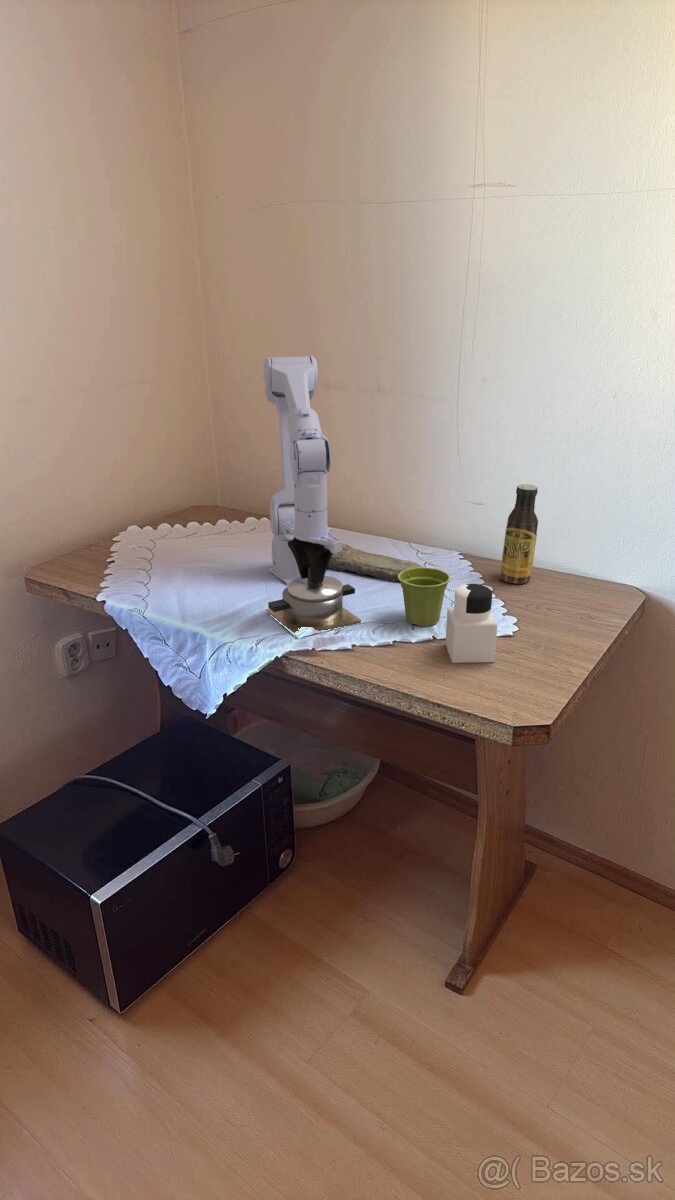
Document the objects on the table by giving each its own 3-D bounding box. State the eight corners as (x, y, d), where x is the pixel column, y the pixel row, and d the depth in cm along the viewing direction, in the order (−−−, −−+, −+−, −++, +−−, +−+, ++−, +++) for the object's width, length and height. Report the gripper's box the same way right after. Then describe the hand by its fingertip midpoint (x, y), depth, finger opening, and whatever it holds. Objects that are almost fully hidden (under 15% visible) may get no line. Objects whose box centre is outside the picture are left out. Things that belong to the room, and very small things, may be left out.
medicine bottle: (486, 643, 139) (491, 579, 134) (494, 663, 132) (500, 596, 128) (445, 644, 139) (448, 580, 134) (451, 663, 132) (455, 597, 127)
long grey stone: (415, 596, 162) (434, 582, 170) (417, 572, 160) (437, 559, 168) (270, 558, 177) (293, 547, 185) (270, 535, 175) (295, 525, 183)
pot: (256, 614, 150) (255, 589, 148) (334, 596, 158) (334, 572, 156) (288, 641, 140) (287, 615, 138) (369, 620, 147) (370, 595, 145)
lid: (276, 591, 148) (275, 564, 145) (318, 576, 154) (317, 551, 152) (312, 607, 141) (311, 580, 139) (353, 591, 147) (353, 565, 145)
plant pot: (388, 613, 150) (389, 570, 147) (433, 606, 153) (435, 564, 150) (410, 634, 142) (411, 589, 139) (457, 626, 145) (459, 581, 142)
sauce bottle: (496, 582, 164) (503, 487, 156) (505, 572, 169) (513, 480, 161) (527, 587, 162) (537, 492, 154) (535, 577, 167) (545, 484, 159)
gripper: (355, 512, 138) (355, 585, 143) (302, 494, 148) (304, 563, 153) (324, 521, 133) (324, 595, 139) (272, 502, 143) (274, 572, 149)
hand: (312, 579), depth 146 cm, fingers closed on lid, 3 cm apart
